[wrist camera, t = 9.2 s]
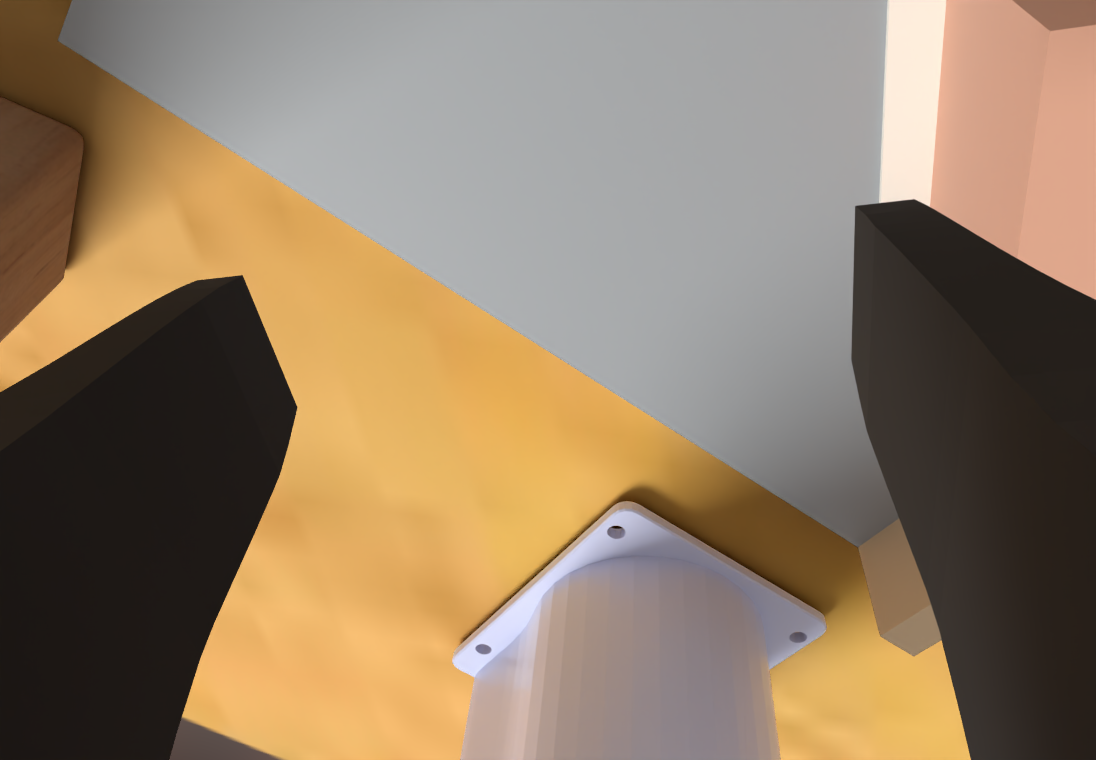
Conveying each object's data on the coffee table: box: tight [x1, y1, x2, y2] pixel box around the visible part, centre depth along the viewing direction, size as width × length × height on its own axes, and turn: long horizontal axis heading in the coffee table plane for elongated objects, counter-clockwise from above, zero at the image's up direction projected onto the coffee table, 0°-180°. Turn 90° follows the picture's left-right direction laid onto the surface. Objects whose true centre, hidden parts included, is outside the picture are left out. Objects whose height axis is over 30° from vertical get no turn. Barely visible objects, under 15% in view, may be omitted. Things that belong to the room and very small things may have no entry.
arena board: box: [58, 0, 942, 656], centre depth 17 cm, size 18×24×4 cm
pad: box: [879, 0, 946, 207], centre depth 17 cm, size 7×7×1 cm
